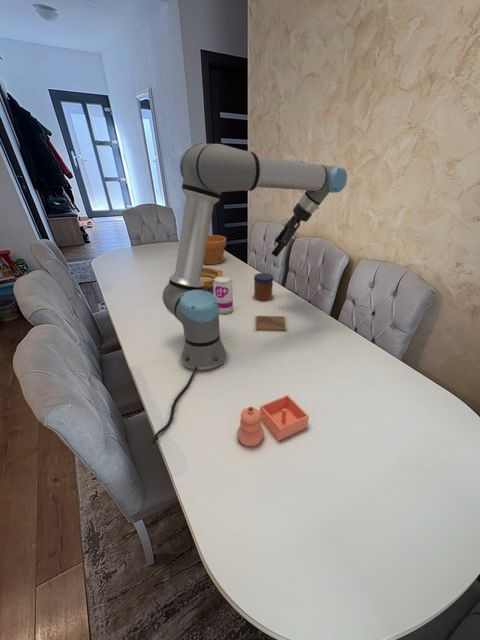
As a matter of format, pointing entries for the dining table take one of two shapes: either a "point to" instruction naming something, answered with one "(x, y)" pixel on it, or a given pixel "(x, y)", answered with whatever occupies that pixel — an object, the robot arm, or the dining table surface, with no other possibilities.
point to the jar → (263, 291)
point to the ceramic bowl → (209, 277)
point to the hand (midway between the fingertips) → (275, 248)
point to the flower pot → (214, 249)
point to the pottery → (271, 421)
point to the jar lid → (263, 278)
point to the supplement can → (223, 294)
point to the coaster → (270, 323)
